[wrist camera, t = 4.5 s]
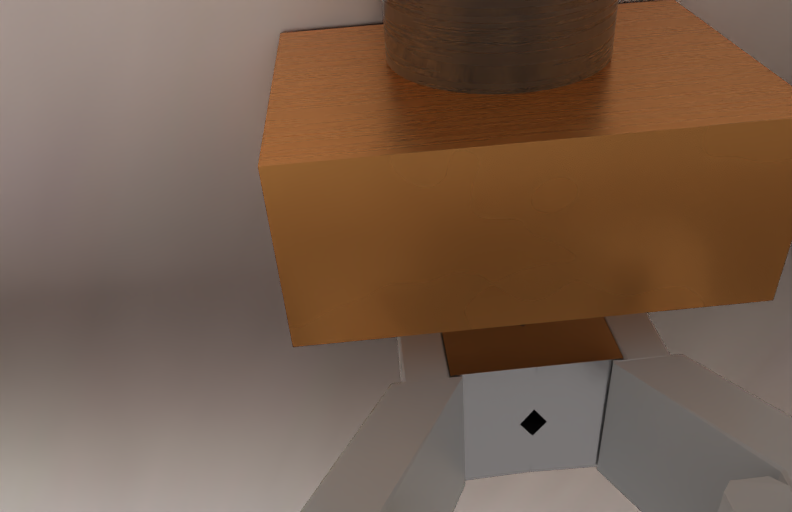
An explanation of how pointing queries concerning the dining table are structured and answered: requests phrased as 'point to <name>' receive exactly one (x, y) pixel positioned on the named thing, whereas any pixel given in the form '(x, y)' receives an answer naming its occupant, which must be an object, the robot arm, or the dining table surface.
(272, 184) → the orange piece
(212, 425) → the dining table surface
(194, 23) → the dining table surface
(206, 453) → the dining table surface
